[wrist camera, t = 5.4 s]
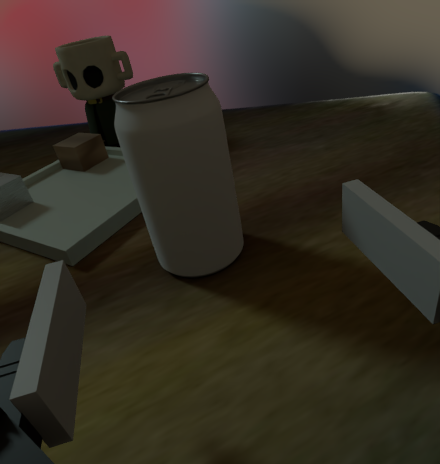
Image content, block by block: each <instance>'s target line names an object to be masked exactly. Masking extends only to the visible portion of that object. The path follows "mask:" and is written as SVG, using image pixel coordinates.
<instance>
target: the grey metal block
mask: <svg viewBox="0 0 440 464" xmlns="http://www.w3.org/2000/svg"><path fill="white" fill-rule="evenodd" d="M33 202H34V201H33V199H32V197H31V195H30V194H29V192H28V190H27V188H26V186H25V184H24V182H23V180H22V178H21V176H18V175H12V174H6V173H0V222H1V221H2V220H4V219H6V218H7V217H9V216H11V215H12V214H14V213H16V212H17V211H19V210H21V209H23V208H24V207H26V206H28V205H29V204H31V203H33Z"/></svg>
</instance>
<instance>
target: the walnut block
mask: <svg viewBox="0 0 440 464" xmlns="http://www.w3.org/2000/svg"><path fill="white" fill-rule="evenodd" d="M53 148H54V150H55V152H56V154H57V157H58V159H59V161H60V164H61V166H62V168H63V169H66V170H74V171H81V172H85V171H87V170H89V169H90V168H92V167H94V166H95V165H97V164H99V163H100V162H102V161H104V160H106V159H107V158H109V156H108V154H107V151H106V148H105V145H104V142H103V140H102V137H101V134H90V133H77V134H75V135H73V136H71V137H69V138H67V139H65V140H63V141H61V142H59V143H57V144H55V145H53Z"/></svg>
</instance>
